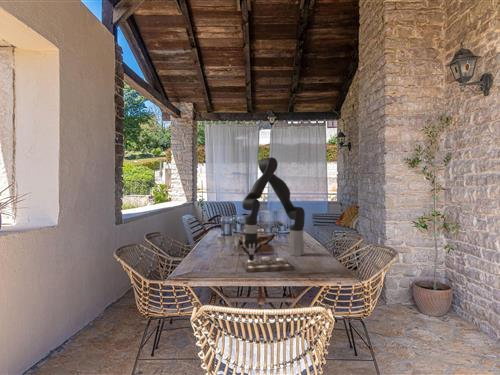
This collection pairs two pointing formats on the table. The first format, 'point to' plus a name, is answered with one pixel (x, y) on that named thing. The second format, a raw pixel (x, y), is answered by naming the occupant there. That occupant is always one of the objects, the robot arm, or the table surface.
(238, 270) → the table surface
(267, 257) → the middle button
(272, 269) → the button board
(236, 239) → the goblet set
